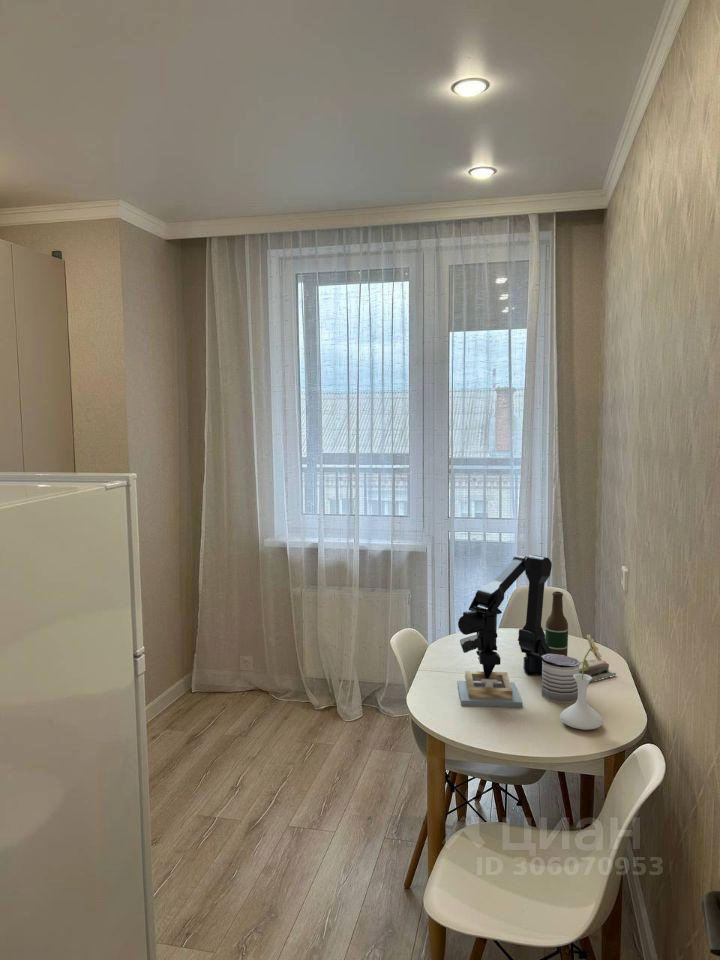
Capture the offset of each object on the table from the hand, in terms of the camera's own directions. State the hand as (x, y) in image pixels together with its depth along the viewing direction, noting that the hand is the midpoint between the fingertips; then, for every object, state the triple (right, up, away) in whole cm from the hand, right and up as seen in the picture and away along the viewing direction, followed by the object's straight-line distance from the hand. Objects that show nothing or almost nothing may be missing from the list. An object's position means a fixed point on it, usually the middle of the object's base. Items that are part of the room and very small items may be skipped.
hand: (486, 677), depth 221 cm
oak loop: (0, -2, -5) cm, 6 cm away
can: (+22, -4, -6) cm, 23 cm away
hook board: (-1, -4, -7) cm, 8 cm away
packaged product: (+35, -4, +11) cm, 37 cm away
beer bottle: (+30, -2, +28) cm, 41 cm away
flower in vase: (+22, -6, -26) cm, 35 cm away
